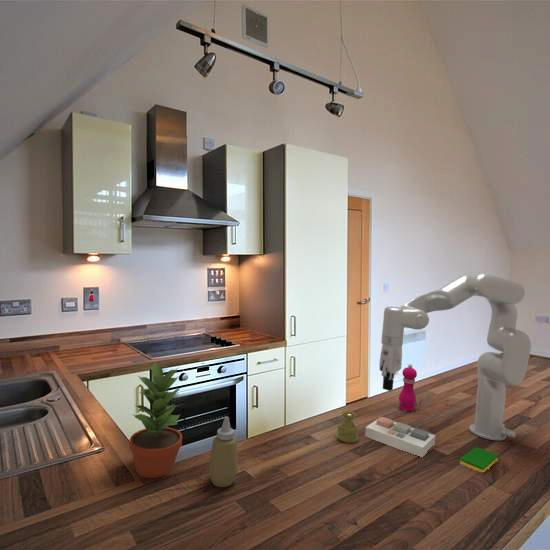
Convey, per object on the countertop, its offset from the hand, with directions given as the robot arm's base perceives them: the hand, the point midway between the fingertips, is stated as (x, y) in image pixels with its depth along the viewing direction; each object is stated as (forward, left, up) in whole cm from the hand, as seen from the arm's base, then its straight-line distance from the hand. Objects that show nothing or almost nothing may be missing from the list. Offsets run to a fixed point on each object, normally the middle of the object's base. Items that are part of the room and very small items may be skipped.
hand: (387, 389), depth 146 cm
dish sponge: (-32, -4, -17) cm, 36 cm away
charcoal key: (-13, 0, -15) cm, 19 cm away
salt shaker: (+7, +14, -17) cm, 23 cm away
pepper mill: (+3, -32, -17) cm, 36 cm away
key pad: (-7, +1, -17) cm, 18 cm away
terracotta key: (0, 0, -15) cm, 15 cm away
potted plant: (+36, +73, -17) cm, 84 cm away
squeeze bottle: (+18, +64, -17) cm, 69 cm away
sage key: (-7, 0, -15) cm, 16 cm away
